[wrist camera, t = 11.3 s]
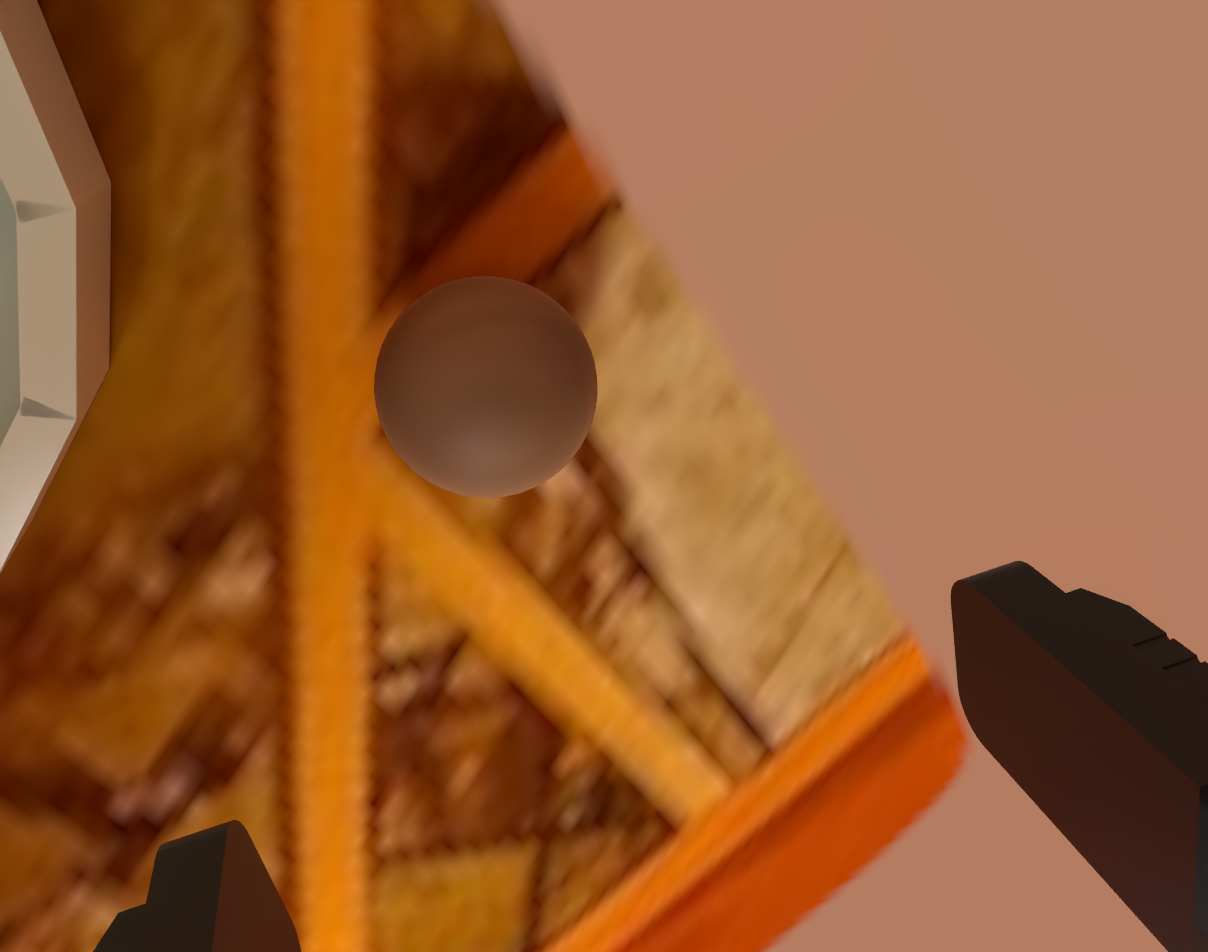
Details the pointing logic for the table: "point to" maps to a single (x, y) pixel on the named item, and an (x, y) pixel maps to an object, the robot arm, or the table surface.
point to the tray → (46, 266)
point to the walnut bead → (485, 386)
